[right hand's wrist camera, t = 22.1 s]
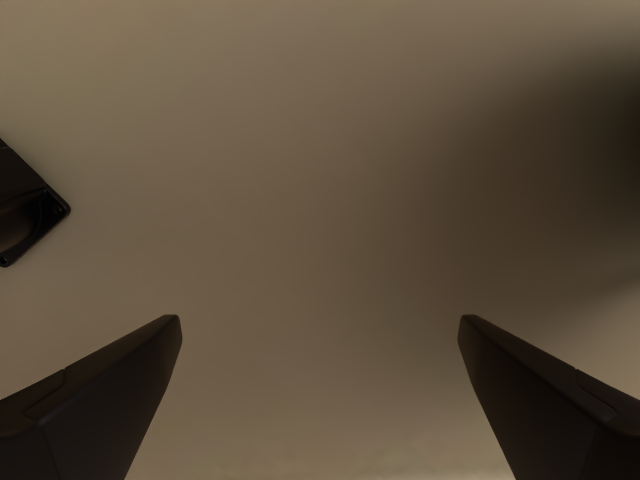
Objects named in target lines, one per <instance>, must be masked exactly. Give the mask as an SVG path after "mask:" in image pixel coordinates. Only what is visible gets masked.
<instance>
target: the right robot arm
mask: <svg viewBox="0 0 640 480" xmlns="http://www.w3.org/2000/svg"><path fill="white" fill-rule="evenodd" d="M58 207H60V208H61V209H62V212H60V211H59V209H58ZM70 212H71V209H70V206H69V205H68V204H67V203H66V202H65V201H64V200H63V199H62V198H61V197H60V196H59V195H58V194H57V193H56V192H55V191H54V190H53V189H52V188H51V187H50V186H49V185H48V184H47V183H46V182H45V181H44V180H43V179H42V178H41V177H40V176H39V175H38V174H37V173H36V172H35V171H34V170H33V169H32V168H31V167H30V166H29V165H28V164H27V163H26V162H25V161H24V160H23V159H22V158H21V157H20V156H19V155H18V154H17V153H16V152H15V151H14V150H13V149H11V148H10V147H9V146H8V145H7V144H6V143H5V142H4V141H3V140H2V139H0V266H1V267H8V266H10V265H12V264H14V263H15V262H16V261H17V260H19V259H20V258H21V257H22V256H23V255H24V254H25V253H26V252H28V251H29V250H30V249H31V248H32V247H33V246H34V245H36V244H37V243H38V242H39V241H40V240H41V239H42V238H43V237H45V236H46V235H47V234H48V233H49V232H50V231H51V230H52V229H54V228H55V227H56V226H57V225H58V224H59V223H60V222H61V221H63V220H64V219H65V218H66V217H67V216H68V215H69V214H70ZM4 258H5V259H6V260H7V261H6V260H5V259H4ZM181 345H182V331H181V325H180V319H179V317H178V315H163V316H161V317H159V318H158V319H156V320H154V321H152V322H150V323H148V324H146V325H144V326H142V327H141V328H139V329H137V330H135V331H133V332H131V333H129V334H127V335H126V336H124V337H122V338H120V339H118V340H116V341H114V342H112V343H111V344H109V345H107V346H105V347H103V348H101V349H99V350H97V351H96V352H94V353H92V354H90V355H88V356H86V357H84V358H82V359H80V360H79V361H77V362H75V363H73V364H71V365H69V366H67V367H66V368H65V370H64V369H62V370H60V371H58V372H56V373H54V374H52V375H50V376H48V377H46V378H45V379H43V380H41V381H39V382H37V383H35V384H33V385H31V386H29V387H27V388H25V389H23V390H21V391H18V392H16V393H14V394H12V395H10V396H8V397H6V398H4V399H2V400H0V480H124V479H125V477H126V475H127V472H128V470H129V468H130V466H131V464H132V462H133V460H134V457H135V455H136V453H137V451H138V449H139V447H140V445H141V442H142V440H143V438H144V436H145V434H146V432H147V430H148V427H149V425H150V423H151V421H152V419H153V417H154V415H155V412H156V410H157V408H158V406H159V404H160V402H161V400H162V397H163V395H164V393H165V391H166V389H167V386H168V384H169V381H170V378H171V375H172V372H173V369H174V366H175V363H176V360H177V357H178V354H179V351H180V348H181ZM458 345H459V348H460V351H461V354H462V357H463V360H464V363H465V366H466V369H467V372H468V375H469V378H470V381H471V384H472V386H473V388H474V391H475V393H476V395H477V397H478V400H479V402H480V404H481V406H482V408H483V410H484V412H485V415H486V417H487V419H488V421H489V423H490V425H491V427H492V430H493V432H494V434H495V436H496V438H497V440H498V442H499V445H500V447H501V449H502V451H503V453H504V455H505V457H506V460H507V462H508V464H509V466H510V468H511V470H512V472H513V475H514V477H515V479H516V480H640V400H638V399H636V398H634V397H632V396H630V395H628V394H626V393H624V392H622V391H619V390H617V389H615V388H613V387H611V386H609V385H607V384H605V383H603V382H601V381H599V380H597V379H595V378H594V377H592V376H590V375H588V374H586V373H584V372H582V371H580V370H578V369H576V370H575V368H574V367H573V366H571V365H569V364H567V363H565V362H563V361H561V360H560V359H558V358H556V357H554V356H552V355H550V354H548V353H546V352H544V351H543V350H541V349H539V348H537V347H535V346H533V345H531V344H529V343H528V342H526V341H524V340H522V339H520V338H518V337H516V336H514V335H513V334H511V333H509V332H507V331H505V330H503V329H501V328H499V327H498V326H496V325H494V324H492V323H490V322H488V321H486V320H484V319H482V318H481V317H479V316H477V315H462V317H461V319H460V325H459V331H458Z"/></svg>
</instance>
